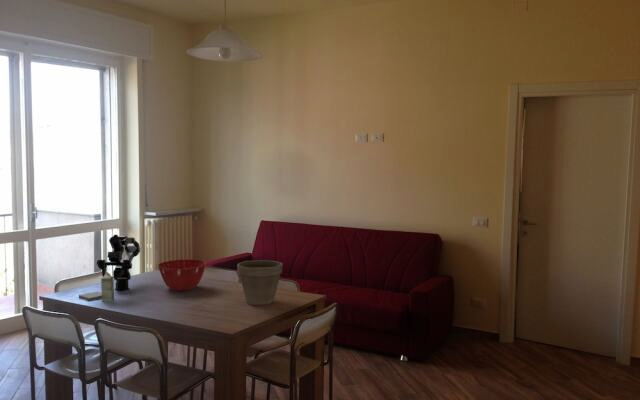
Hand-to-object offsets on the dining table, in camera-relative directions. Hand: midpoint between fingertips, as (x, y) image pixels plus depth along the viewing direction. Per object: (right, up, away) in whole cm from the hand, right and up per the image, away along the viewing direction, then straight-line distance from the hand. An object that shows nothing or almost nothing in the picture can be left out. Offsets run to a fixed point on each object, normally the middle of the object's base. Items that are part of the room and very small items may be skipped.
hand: (111, 276), depth 312 cm
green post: (0, -12, -5) cm, 14 cm away
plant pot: (+85, -13, -7) cm, 86 cm away
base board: (-11, -12, +1) cm, 16 cm away
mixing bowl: (+34, -11, +24) cm, 43 cm away
